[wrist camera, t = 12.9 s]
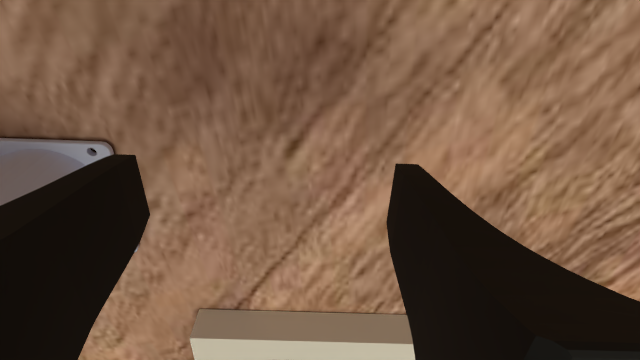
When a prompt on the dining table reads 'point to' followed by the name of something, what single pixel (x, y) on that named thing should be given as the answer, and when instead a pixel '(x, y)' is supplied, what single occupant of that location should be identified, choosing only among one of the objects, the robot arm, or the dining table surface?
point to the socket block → (300, 336)
